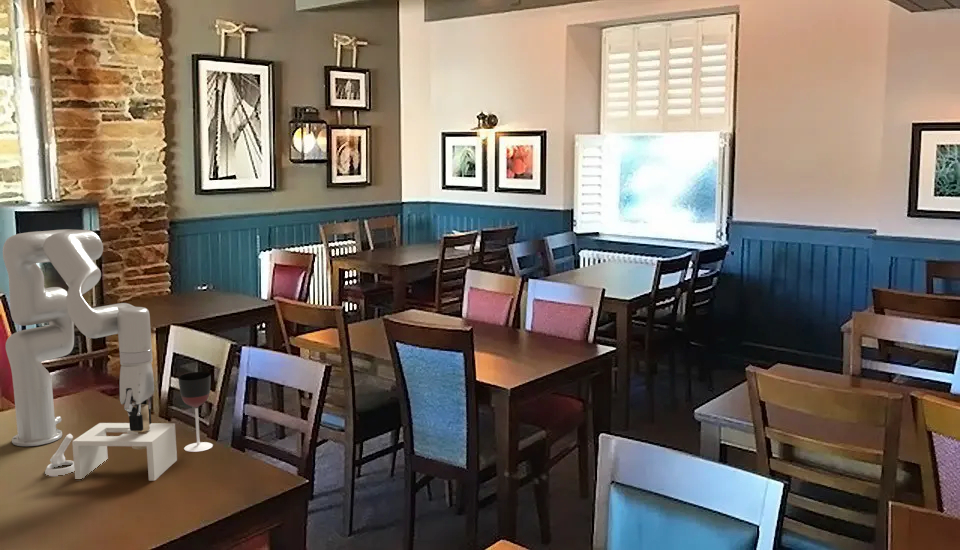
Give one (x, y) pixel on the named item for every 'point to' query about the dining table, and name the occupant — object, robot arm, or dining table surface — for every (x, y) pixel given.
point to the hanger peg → (145, 423)
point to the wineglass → (195, 400)
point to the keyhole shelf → (94, 445)
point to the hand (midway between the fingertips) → (140, 426)
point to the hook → (60, 460)
